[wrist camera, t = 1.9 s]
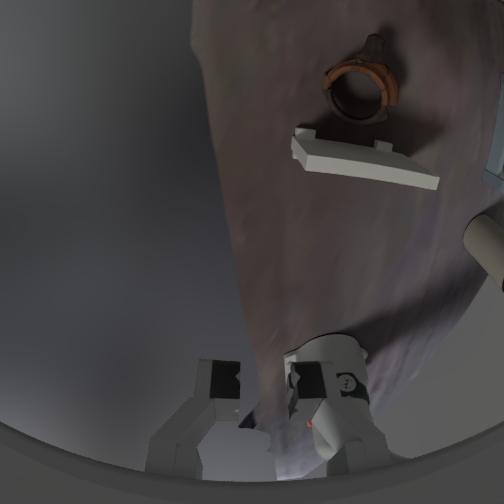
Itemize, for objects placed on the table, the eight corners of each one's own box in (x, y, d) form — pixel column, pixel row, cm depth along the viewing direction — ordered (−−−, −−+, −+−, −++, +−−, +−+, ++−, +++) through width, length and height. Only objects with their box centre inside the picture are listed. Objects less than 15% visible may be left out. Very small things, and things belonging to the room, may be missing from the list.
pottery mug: (392, 120, 34) (389, 142, 29) (327, 103, 37) (312, 121, 32) (406, 40, 25) (408, 44, 20) (334, 25, 28) (318, 25, 23)
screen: (397, 171, 38) (433, 199, 29) (289, 156, 37) (303, 181, 28) (403, 145, 35) (442, 168, 27) (293, 126, 34) (309, 142, 26)
